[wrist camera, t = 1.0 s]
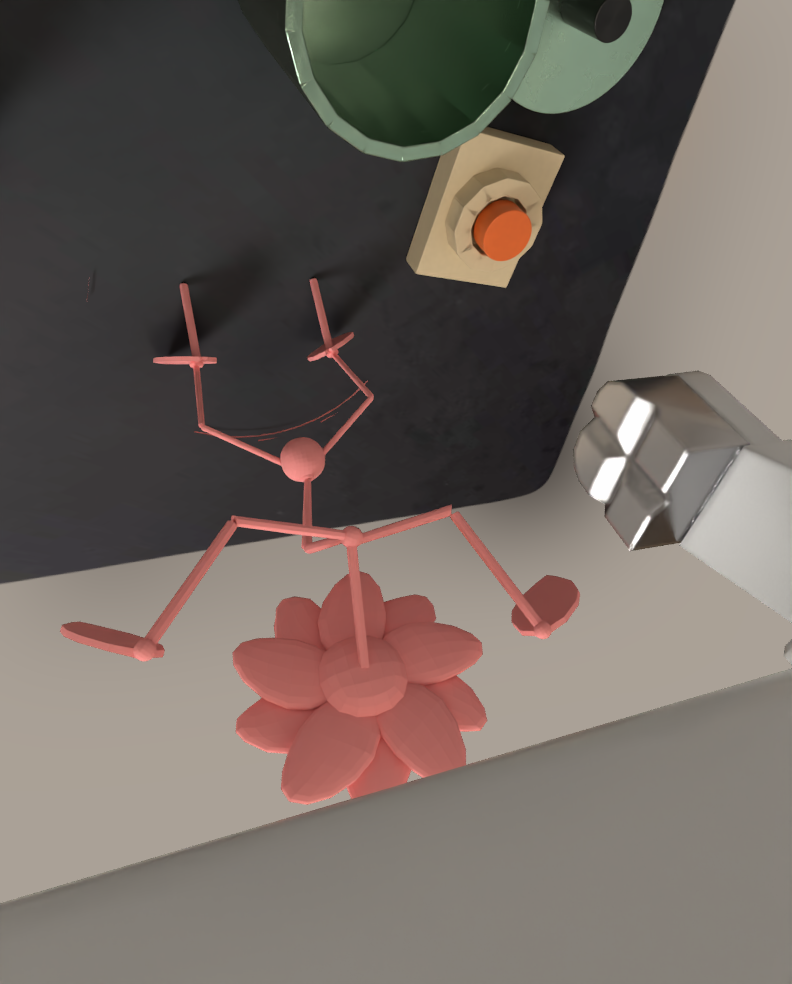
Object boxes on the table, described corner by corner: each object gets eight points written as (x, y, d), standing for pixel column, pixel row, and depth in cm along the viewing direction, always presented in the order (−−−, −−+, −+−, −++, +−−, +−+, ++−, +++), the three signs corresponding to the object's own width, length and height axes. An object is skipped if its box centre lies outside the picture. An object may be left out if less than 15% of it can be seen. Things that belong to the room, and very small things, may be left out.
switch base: (453, 117, 45) (478, 139, 42) (550, 144, 49) (578, 165, 46) (405, 259, 51) (424, 286, 49) (494, 274, 55) (516, 299, 52)
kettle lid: (531, -179, 36) (580, -173, 32) (697, -90, 41) (754, -77, 38) (447, 82, 43) (480, 109, 40) (596, 127, 49) (636, 154, 46)
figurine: (42, 275, 43) (41, 842, 21) (420, 263, 52) (709, 656, 29) (85, 457, 54) (115, 961, 31) (392, 422, 62) (589, 799, 40)
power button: (485, 194, 46) (496, 205, 44) (529, 204, 47) (540, 215, 46) (465, 245, 48) (475, 257, 47) (507, 253, 49) (518, 265, 48)
